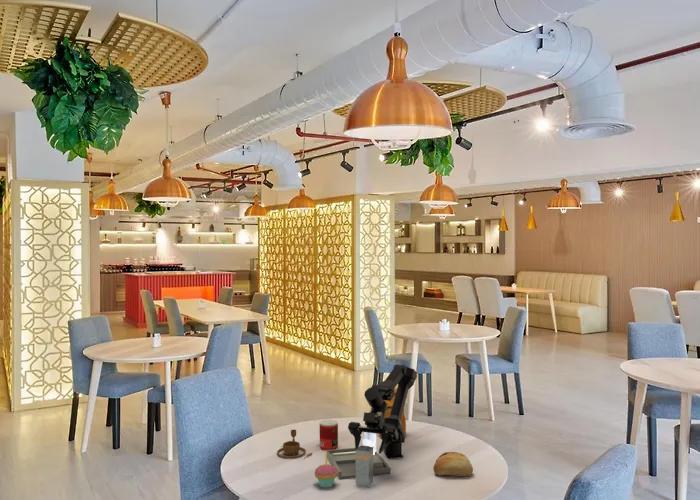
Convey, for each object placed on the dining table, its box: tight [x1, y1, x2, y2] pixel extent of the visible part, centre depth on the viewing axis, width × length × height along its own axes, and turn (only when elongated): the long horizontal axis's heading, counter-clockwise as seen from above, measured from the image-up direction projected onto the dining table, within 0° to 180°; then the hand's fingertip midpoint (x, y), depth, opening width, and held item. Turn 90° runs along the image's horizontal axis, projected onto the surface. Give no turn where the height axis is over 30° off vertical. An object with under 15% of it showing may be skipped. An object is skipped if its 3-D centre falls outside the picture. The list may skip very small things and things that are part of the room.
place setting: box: [276, 429, 313, 460], centre depth 252 cm, size 18×20×6 cm
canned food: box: [319, 419, 339, 451], centre depth 255 cm, size 8×8×11 cm
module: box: [355, 444, 374, 489], centre depth 217 cm, size 5×5×14 cm
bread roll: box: [432, 451, 474, 477], centre depth 226 cm, size 10×15×8 cm, turn 92°
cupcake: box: [314, 450, 338, 488], centre depth 216 cm, size 9×8×12 cm
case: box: [325, 447, 392, 480], centre depth 236 cm, size 20×26×4 cm
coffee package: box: [378, 387, 407, 438], centre depth 270 cm, size 10×12×22 cm
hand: (367, 451), depth 220 cm, fingers open, 9 cm apart
